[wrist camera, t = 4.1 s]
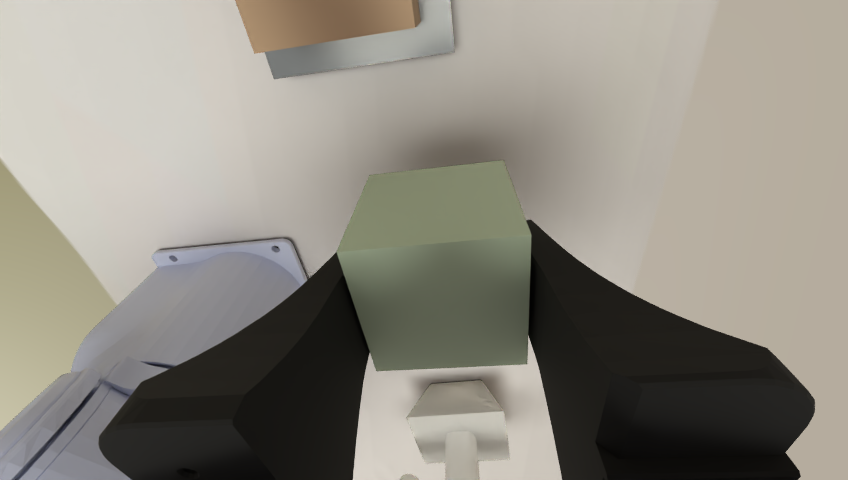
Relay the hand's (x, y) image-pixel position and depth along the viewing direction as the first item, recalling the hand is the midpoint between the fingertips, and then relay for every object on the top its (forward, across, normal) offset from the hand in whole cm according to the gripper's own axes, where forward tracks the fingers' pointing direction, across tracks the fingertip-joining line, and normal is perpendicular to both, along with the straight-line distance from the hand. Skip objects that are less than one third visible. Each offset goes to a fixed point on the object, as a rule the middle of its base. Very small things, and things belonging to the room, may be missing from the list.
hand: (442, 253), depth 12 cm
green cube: (+2, 0, 0) cm, 2 cm away
